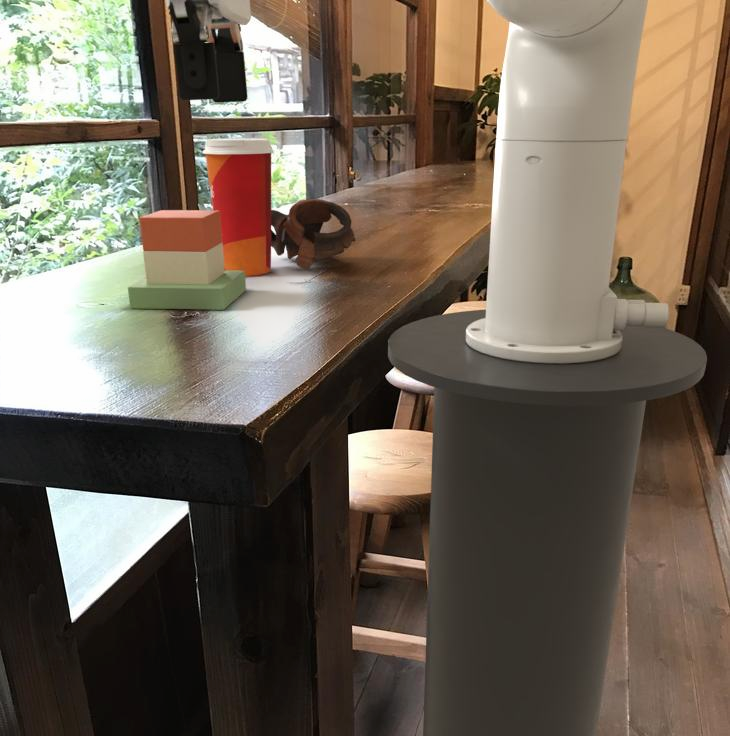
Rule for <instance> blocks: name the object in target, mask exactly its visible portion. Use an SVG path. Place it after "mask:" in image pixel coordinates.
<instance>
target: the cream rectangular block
mask: <svg viewBox="0 0 730 736" xmlns="http://www.w3.org/2000/svg"><path fill="white" fill-rule="evenodd" d="M142 254H143V263H144V273H145V278H146V281H147V284H186V285H209V284H210V283H212V282H213V281H214V280H216V279H217V278H219V277H220V276H221V275H223V274H224V273H225V269H224V256H223V243H220V244H218V245H216V246H215V247H213V248H211V249H209V250H208V251H206V252H180V251H142Z"/></svg>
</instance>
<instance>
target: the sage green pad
mask: <svg viewBox="0 0 730 736" xmlns="http://www.w3.org/2000/svg"><path fill="white" fill-rule="evenodd" d="M246 291H247V283H246V276H245V271H225V273H224V274H223V275H221V276H220V277H219V278H217V279H216V280H214V281H213V282H212V283H210V284H209V285H186V284H147V281H146V277H144V278H141V279H140V280H138V281H137V282H135V283H133V284H131V285H129V286H128V287H127V293H128V301H129V308H130V309H138V310H139V309H141V310H144V309H146V310H150V309H151V310H153V309H154V310H198V311H199V310H203V311H204V310H206V311H207V310H208V311H224V310H225V309H226V308H228V307H229V306H230V305H231V304H233V302H234V301H236V300H237V299H238V298H239V297H240V296H242V295H243V294H244V293H245V292H246Z"/></svg>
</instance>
